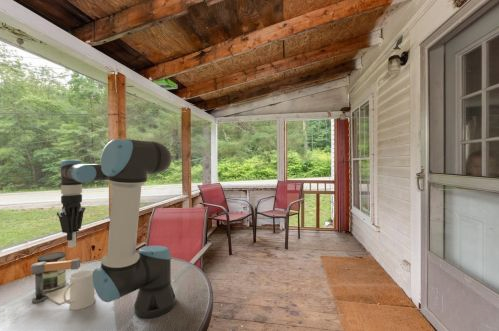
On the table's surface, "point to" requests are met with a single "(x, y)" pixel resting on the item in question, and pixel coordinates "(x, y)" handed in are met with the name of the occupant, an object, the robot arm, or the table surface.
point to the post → (39, 289)
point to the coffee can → (53, 277)
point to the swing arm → (54, 266)
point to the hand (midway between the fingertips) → (72, 246)
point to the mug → (80, 290)
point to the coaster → (59, 296)
